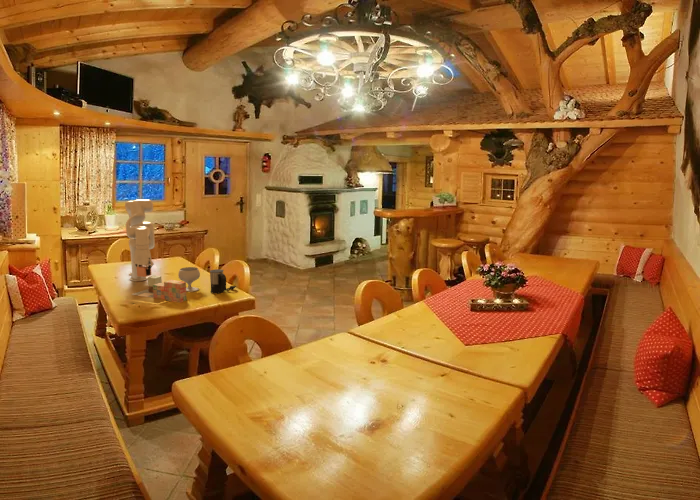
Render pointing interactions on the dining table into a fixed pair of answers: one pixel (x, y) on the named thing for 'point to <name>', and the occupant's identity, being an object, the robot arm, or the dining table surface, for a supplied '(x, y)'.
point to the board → (144, 293)
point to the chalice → (189, 277)
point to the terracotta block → (142, 271)
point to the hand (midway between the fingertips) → (144, 274)
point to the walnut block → (150, 289)
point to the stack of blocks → (170, 291)
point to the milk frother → (218, 281)
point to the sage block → (154, 280)
